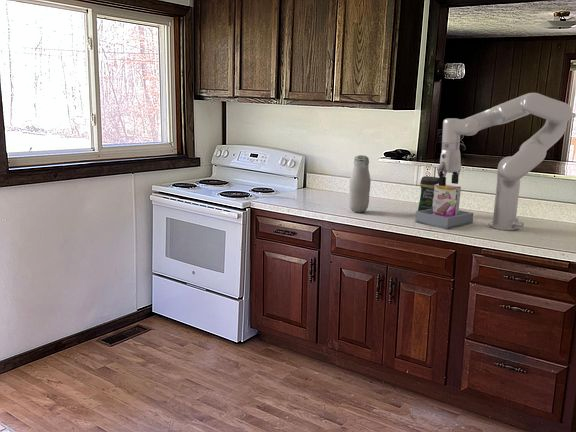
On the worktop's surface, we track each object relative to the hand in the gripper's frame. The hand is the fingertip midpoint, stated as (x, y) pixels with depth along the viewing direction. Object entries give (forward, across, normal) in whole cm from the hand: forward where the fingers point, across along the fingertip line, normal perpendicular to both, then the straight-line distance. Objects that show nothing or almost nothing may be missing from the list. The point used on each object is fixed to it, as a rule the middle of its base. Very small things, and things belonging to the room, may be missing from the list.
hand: (448, 184), depth 249 cm
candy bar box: (+17, -1, +1) cm, 17 cm away
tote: (+18, -1, +1) cm, 18 cm away
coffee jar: (+18, +9, +17) cm, 26 cm away
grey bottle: (+17, -16, +40) cm, 46 cm away
